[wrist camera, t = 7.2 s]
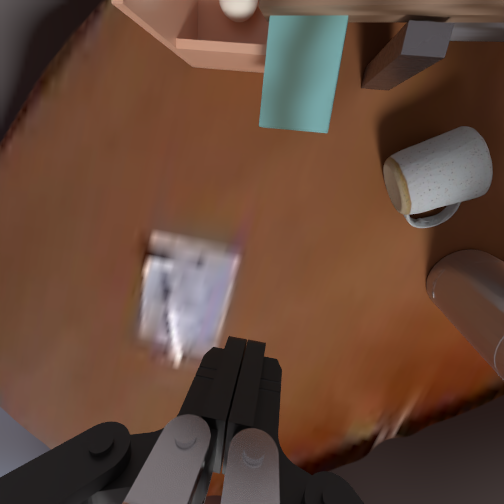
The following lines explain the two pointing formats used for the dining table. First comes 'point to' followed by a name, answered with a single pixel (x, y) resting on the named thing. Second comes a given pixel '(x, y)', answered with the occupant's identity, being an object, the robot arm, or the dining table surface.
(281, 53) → the lever board
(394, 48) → the pivot stand
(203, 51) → the cup
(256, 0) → the ball
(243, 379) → the robot arm
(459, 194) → the ceramic mug
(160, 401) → the dining table surface
